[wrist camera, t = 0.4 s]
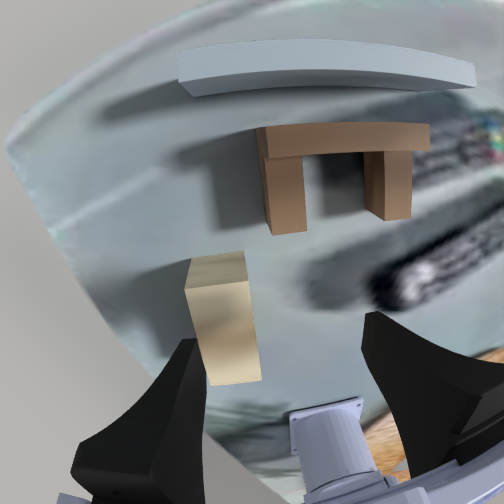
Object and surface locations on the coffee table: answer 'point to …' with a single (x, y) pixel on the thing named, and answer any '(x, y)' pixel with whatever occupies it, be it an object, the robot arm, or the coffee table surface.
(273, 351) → the coffee table surface
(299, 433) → the robot arm
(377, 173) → the brown u-shaped bracket
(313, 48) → the backstop wall
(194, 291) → the cream wooden bar
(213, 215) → the coffee table surface
